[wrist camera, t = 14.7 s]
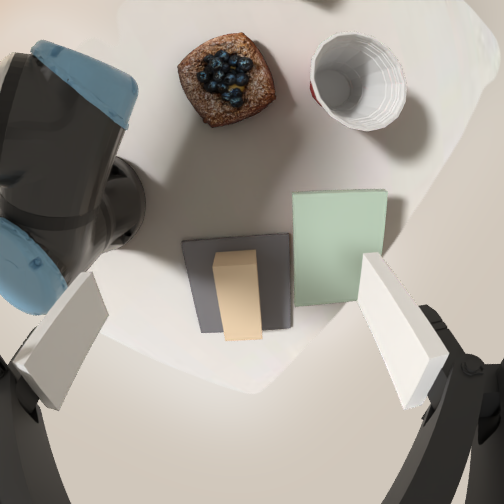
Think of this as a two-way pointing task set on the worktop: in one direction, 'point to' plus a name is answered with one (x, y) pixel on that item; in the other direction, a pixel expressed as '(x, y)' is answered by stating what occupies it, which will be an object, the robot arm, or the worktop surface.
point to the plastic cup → (358, 81)
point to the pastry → (226, 80)
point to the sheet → (334, 242)
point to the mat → (267, 278)
